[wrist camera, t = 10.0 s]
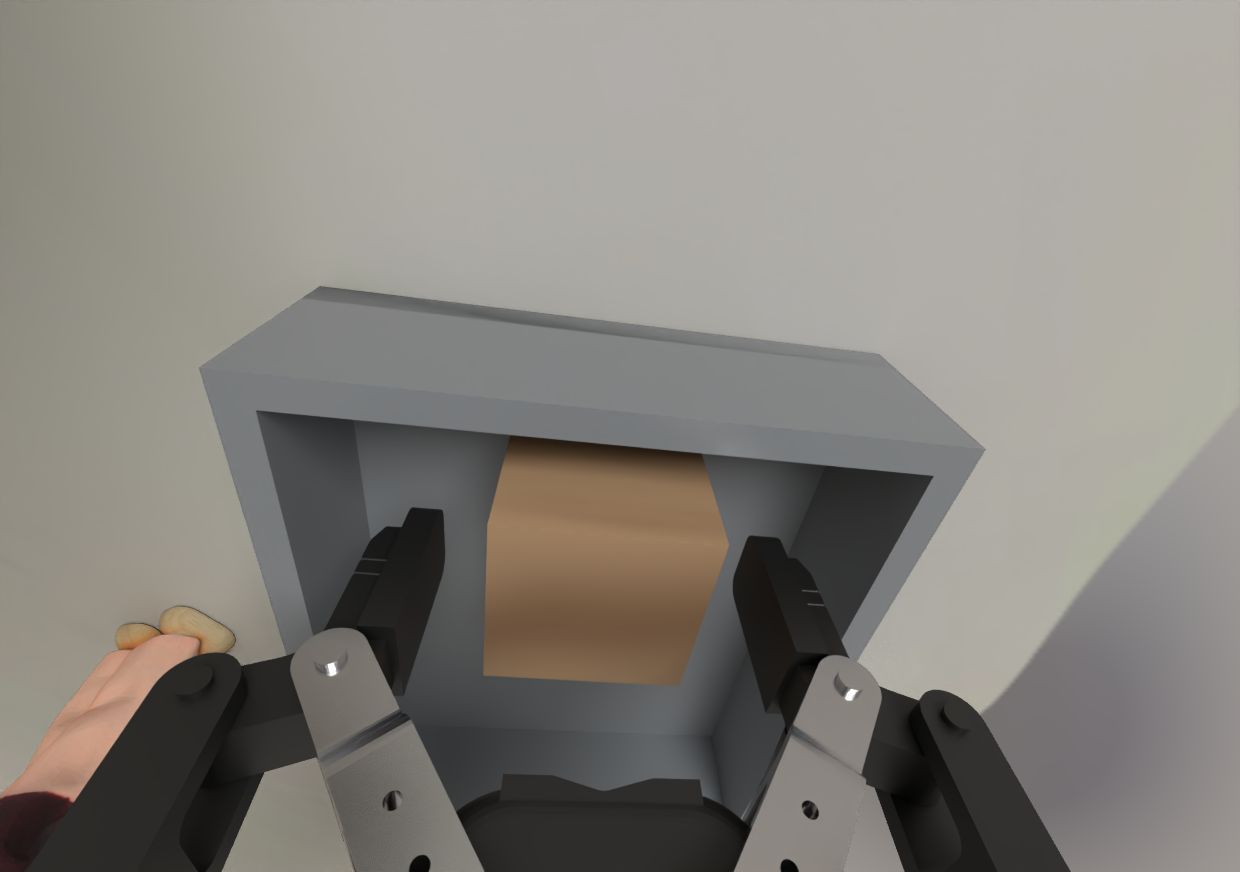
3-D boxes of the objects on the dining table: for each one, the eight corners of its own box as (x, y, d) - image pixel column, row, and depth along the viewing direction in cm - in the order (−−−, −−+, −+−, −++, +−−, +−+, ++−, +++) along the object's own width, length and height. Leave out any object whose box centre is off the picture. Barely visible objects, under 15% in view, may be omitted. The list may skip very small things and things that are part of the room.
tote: (320, 286, 14) (198, 367, 10) (879, 354, 16) (985, 449, 11) (387, 711, 24) (343, 841, 20) (719, 725, 26) (743, 847, 22)
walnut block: (518, 403, 15) (487, 524, 11) (692, 423, 15) (729, 545, 11) (510, 536, 17) (483, 675, 13) (659, 548, 18) (679, 686, 14)
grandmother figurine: (167, 690, 23) (-215, 1217, 12) (78, 642, 21) (-468, 1215, 10) (295, 626, 21) (-23, 1182, 10) (209, 567, 19) (-290, 1171, 8)
